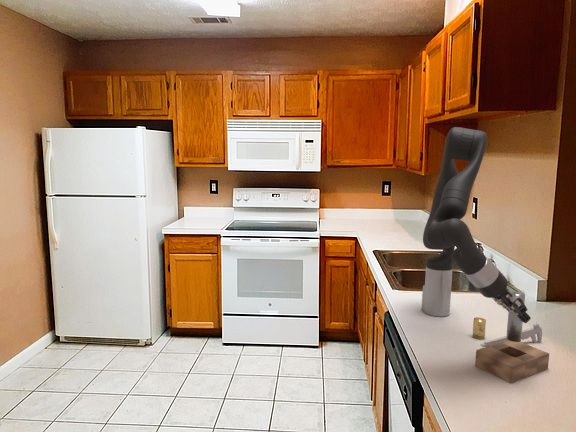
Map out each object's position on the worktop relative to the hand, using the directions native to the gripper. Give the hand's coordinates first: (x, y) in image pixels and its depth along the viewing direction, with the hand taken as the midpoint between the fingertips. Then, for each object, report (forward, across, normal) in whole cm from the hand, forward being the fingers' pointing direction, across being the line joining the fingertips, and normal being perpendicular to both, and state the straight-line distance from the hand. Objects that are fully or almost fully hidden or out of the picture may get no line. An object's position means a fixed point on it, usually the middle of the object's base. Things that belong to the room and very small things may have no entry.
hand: (522, 317), depth 119 cm
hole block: (+9, 0, +12) cm, 15 cm away
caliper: (+16, +14, +5) cm, 22 cm away
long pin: (+3, 0, +6) cm, 6 cm away
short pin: (+11, +20, +10) cm, 24 cm away
